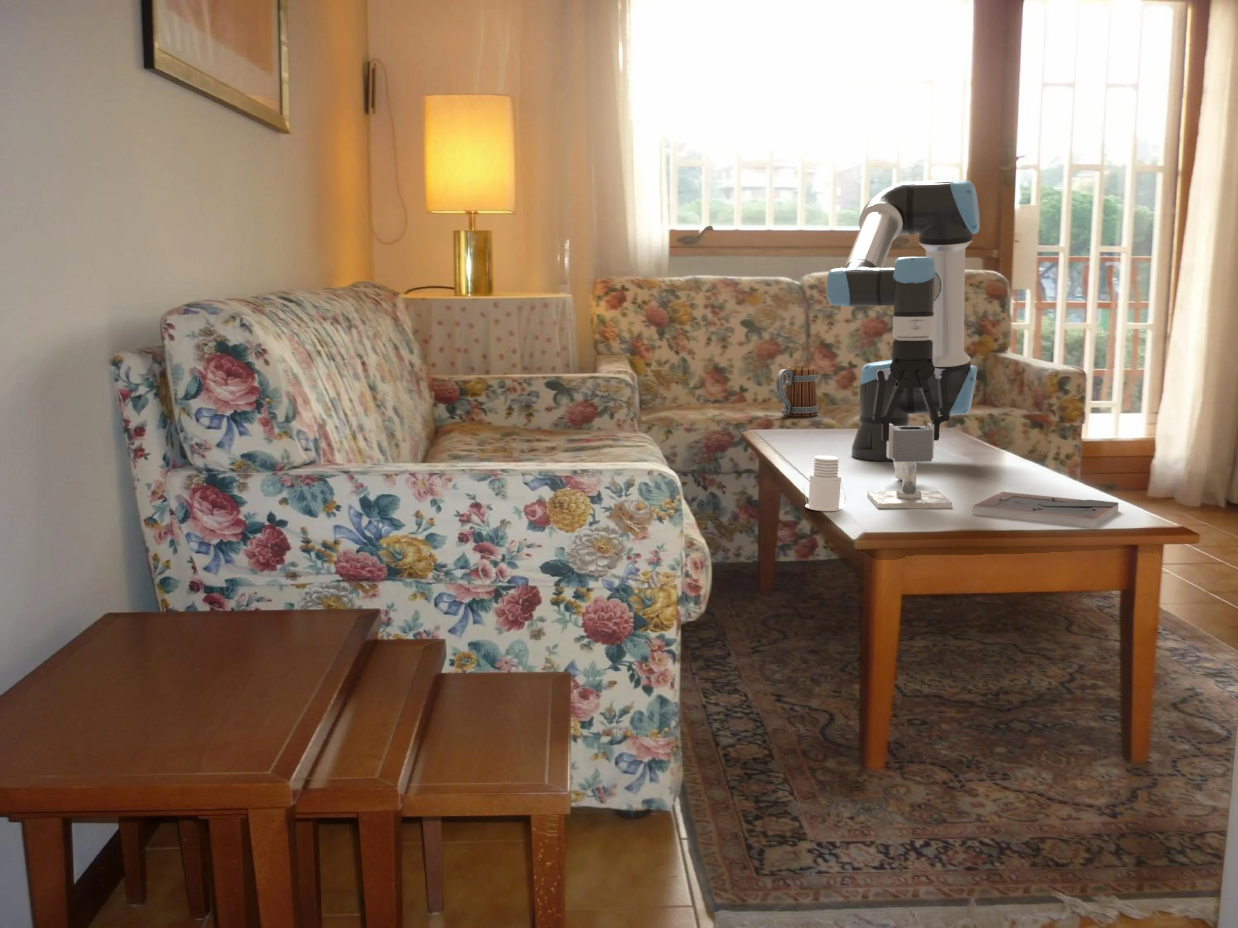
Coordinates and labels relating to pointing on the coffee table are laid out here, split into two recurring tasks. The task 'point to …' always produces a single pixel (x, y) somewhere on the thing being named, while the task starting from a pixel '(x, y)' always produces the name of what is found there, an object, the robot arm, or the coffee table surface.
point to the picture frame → (1046, 509)
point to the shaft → (909, 494)
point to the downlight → (824, 485)
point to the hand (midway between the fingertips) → (909, 457)
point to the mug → (798, 391)
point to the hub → (912, 444)
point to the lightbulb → (898, 470)
